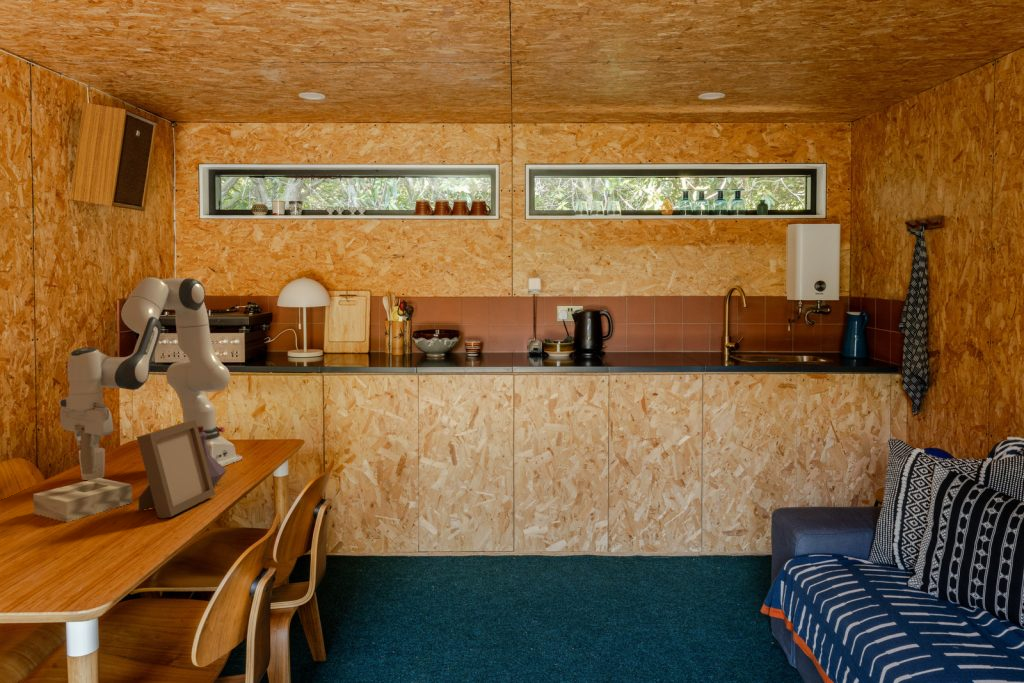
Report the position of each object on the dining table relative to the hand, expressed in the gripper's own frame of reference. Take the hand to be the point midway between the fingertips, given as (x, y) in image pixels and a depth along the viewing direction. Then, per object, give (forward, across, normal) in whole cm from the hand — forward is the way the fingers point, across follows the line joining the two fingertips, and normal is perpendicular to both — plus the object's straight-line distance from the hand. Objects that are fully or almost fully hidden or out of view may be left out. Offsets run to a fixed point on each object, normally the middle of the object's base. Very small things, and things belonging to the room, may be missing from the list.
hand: (87, 447), depth 219 cm
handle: (+8, 0, 0) cm, 8 cm away
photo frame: (+19, -22, -12) cm, 31 cm away
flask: (+19, -10, -32) cm, 39 cm away
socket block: (+19, 0, +2) cm, 19 cm away
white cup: (+19, +30, -20) cm, 41 cm away
